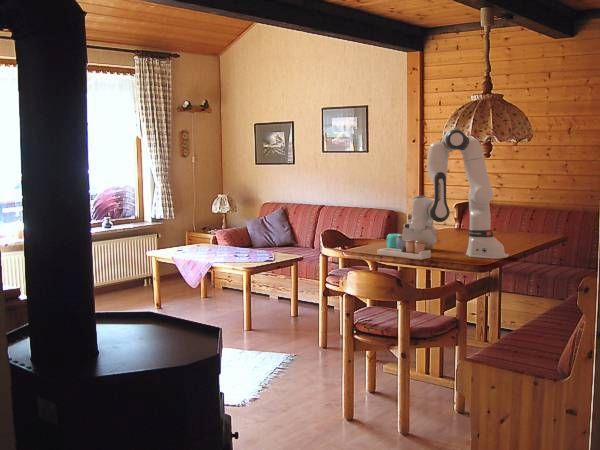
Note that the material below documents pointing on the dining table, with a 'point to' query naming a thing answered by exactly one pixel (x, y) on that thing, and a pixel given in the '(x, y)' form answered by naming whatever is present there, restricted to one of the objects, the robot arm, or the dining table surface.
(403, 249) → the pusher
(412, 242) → the jar
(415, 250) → the jar front
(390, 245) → the decorative dice
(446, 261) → the dining table surface
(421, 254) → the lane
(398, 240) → the blue jar
